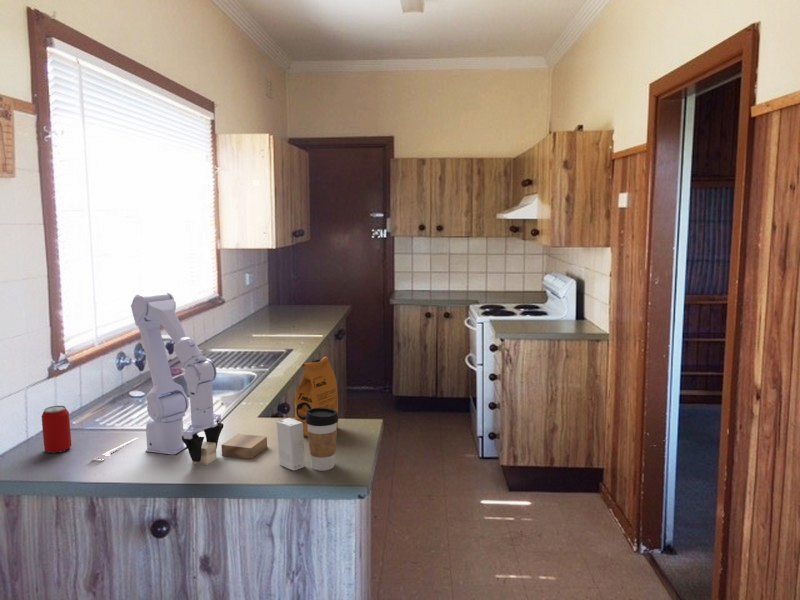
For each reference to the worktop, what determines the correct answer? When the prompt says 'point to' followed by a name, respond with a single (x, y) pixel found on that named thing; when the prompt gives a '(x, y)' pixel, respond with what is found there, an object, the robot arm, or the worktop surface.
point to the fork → (113, 450)
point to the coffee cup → (322, 437)
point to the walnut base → (244, 446)
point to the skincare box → (291, 444)
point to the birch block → (207, 453)
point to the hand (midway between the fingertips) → (204, 455)
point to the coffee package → (316, 390)
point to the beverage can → (56, 429)
